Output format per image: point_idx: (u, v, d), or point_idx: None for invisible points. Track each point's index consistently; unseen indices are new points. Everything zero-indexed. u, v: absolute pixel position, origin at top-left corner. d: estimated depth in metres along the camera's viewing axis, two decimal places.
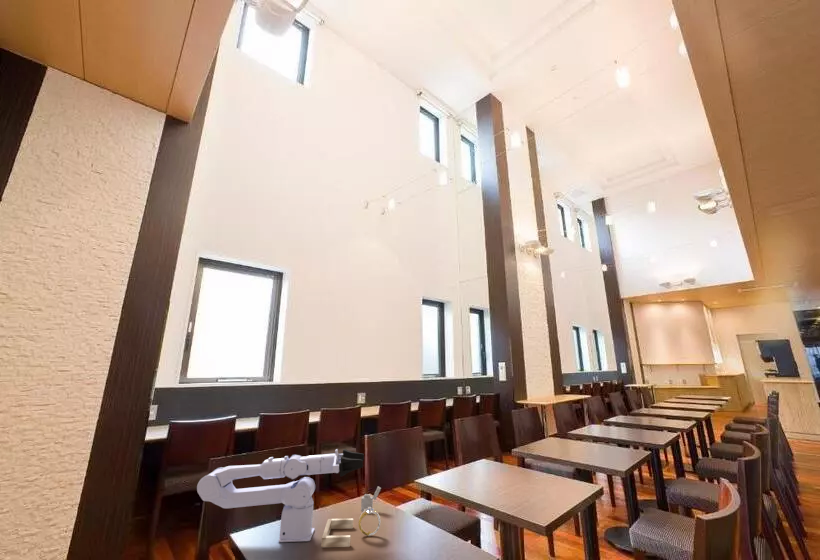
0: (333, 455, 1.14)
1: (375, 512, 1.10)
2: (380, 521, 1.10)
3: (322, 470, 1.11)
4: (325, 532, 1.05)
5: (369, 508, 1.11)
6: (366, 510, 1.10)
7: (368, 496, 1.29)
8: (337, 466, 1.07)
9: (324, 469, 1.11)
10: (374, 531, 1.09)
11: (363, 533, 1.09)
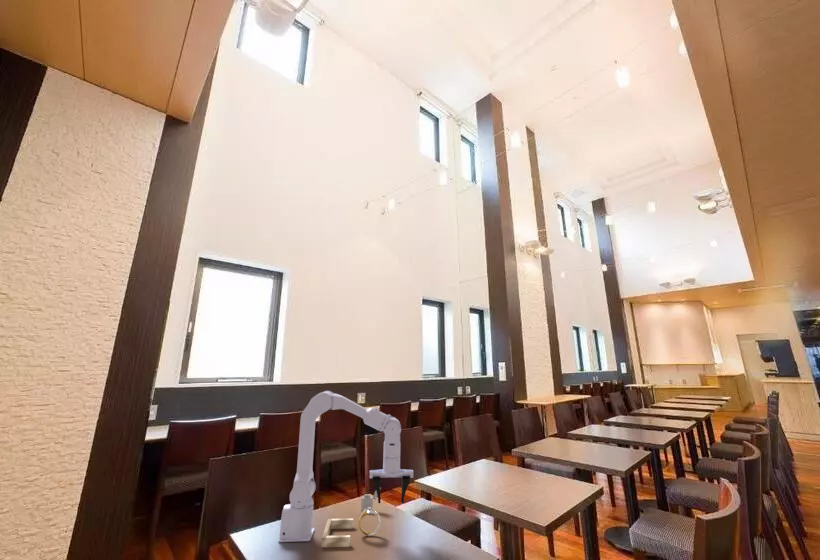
0: (388, 471, 1.12)
1: (375, 512, 1.10)
2: (380, 521, 1.10)
3: None
4: (325, 532, 1.05)
5: (369, 508, 1.11)
6: (366, 510, 1.10)
7: (368, 496, 1.29)
8: (369, 476, 1.13)
9: None
10: (374, 531, 1.09)
11: (363, 533, 1.09)
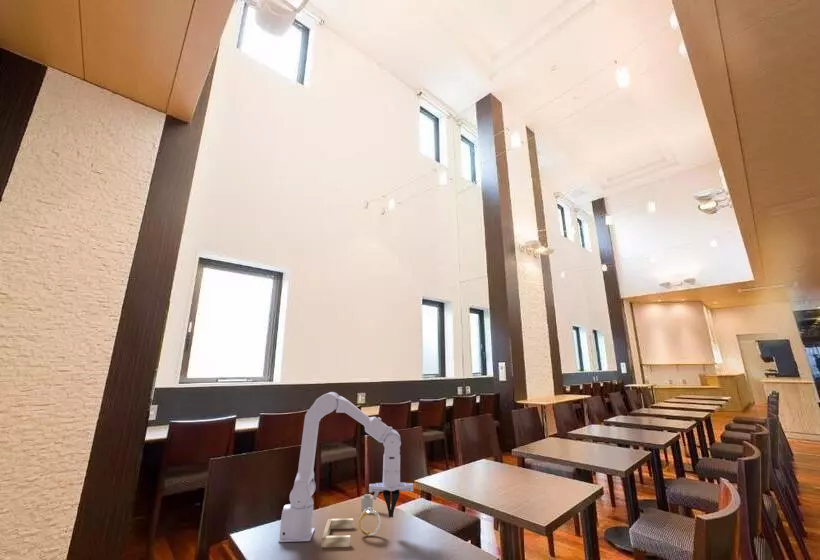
0: (388, 485, 1.11)
1: (375, 512, 1.10)
2: (380, 521, 1.10)
3: None
4: (325, 532, 1.05)
5: (369, 508, 1.11)
6: (366, 510, 1.10)
7: (368, 496, 1.29)
8: (369, 490, 1.11)
9: None
10: (374, 531, 1.09)
11: (363, 533, 1.09)
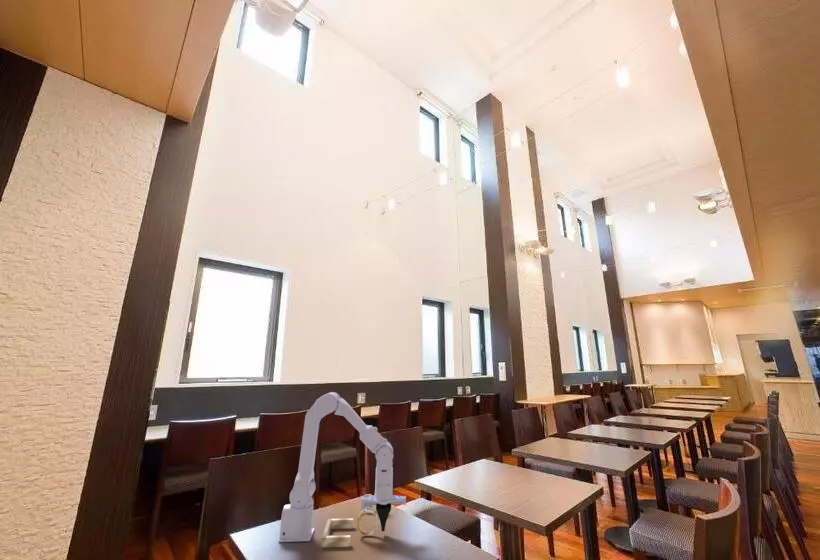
0: (380, 498, 1.10)
1: (373, 512, 1.10)
2: (378, 521, 1.10)
3: None
4: (325, 532, 1.05)
5: (367, 508, 1.11)
6: (364, 510, 1.10)
7: (368, 496, 1.29)
8: (361, 504, 1.10)
9: None
10: (373, 531, 1.09)
11: (362, 533, 1.09)
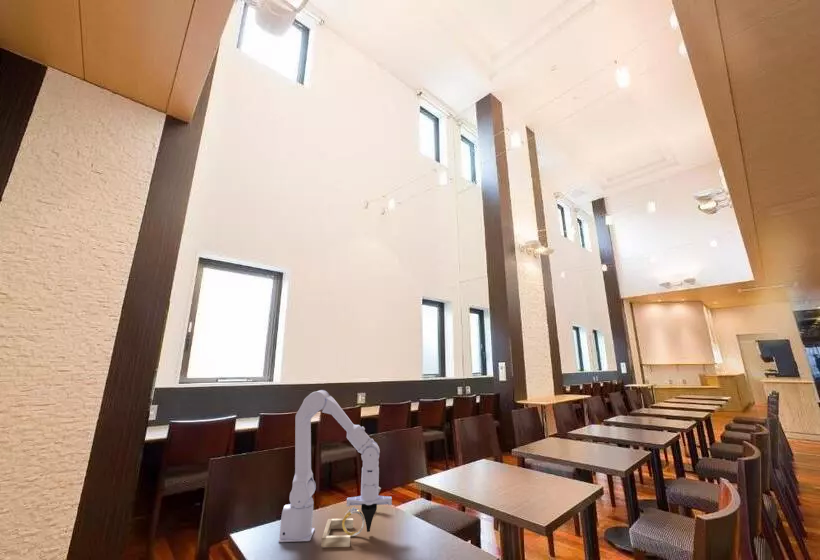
0: (365, 499, 1.09)
1: (359, 512, 1.09)
2: (364, 521, 1.10)
3: None
4: (325, 532, 1.05)
5: (353, 508, 1.11)
6: (350, 510, 1.10)
7: None
8: None
9: None
10: (358, 531, 1.09)
11: (347, 533, 1.08)
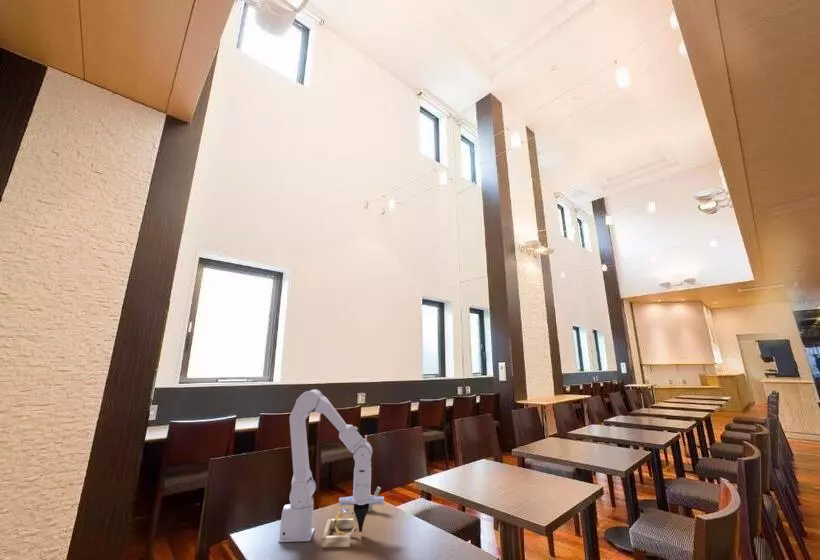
0: (357, 499, 1.09)
1: (351, 512, 1.09)
2: (356, 521, 1.10)
3: None
4: (325, 532, 1.05)
5: (345, 508, 1.10)
6: (342, 510, 1.10)
7: None
8: None
9: None
10: (350, 531, 1.08)
11: (339, 534, 1.08)
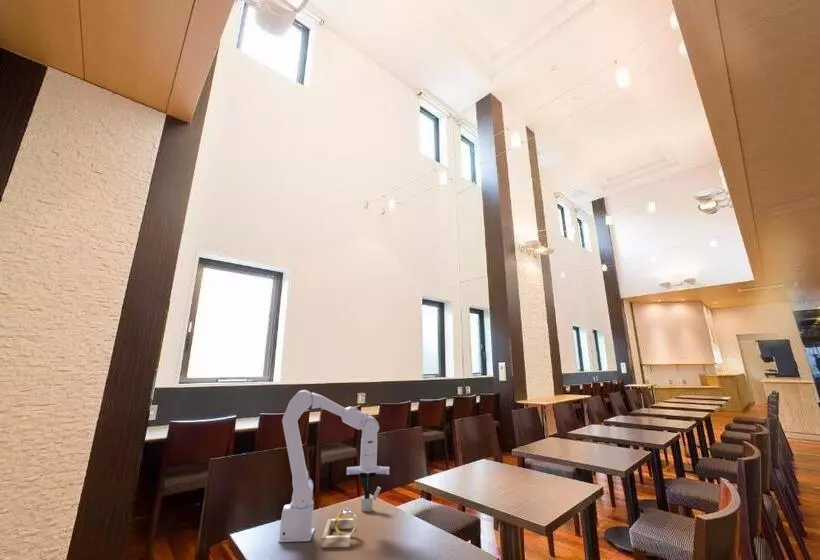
0: (364, 468, 1.15)
1: (351, 513, 1.09)
2: (356, 522, 1.10)
3: None
4: (325, 532, 1.05)
5: (346, 509, 1.10)
6: (342, 511, 1.10)
7: None
8: (346, 473, 1.16)
9: None
10: (350, 532, 1.08)
11: (339, 534, 1.08)
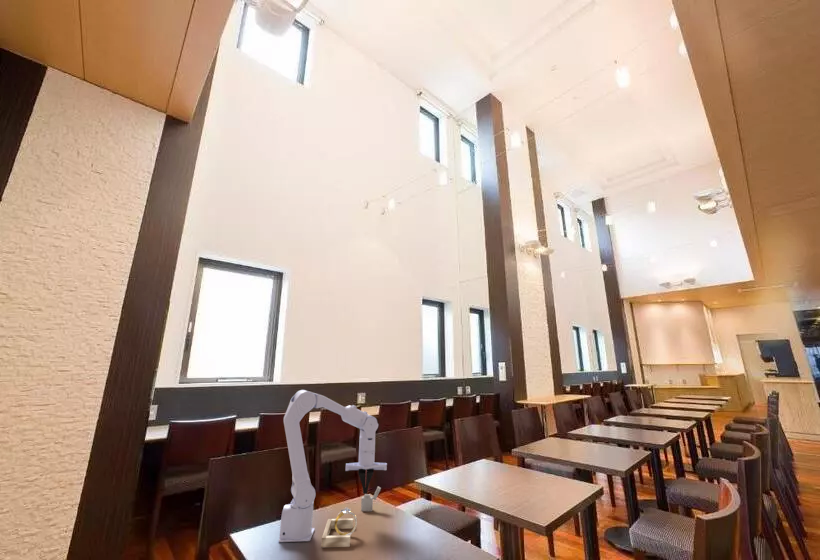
0: (362, 464, 1.20)
1: (351, 513, 1.09)
2: (356, 522, 1.10)
3: None
4: (325, 532, 1.05)
5: (346, 509, 1.10)
6: (342, 511, 1.10)
7: (368, 496, 1.29)
8: (345, 469, 1.21)
9: None
10: (350, 532, 1.08)
11: (339, 534, 1.08)
